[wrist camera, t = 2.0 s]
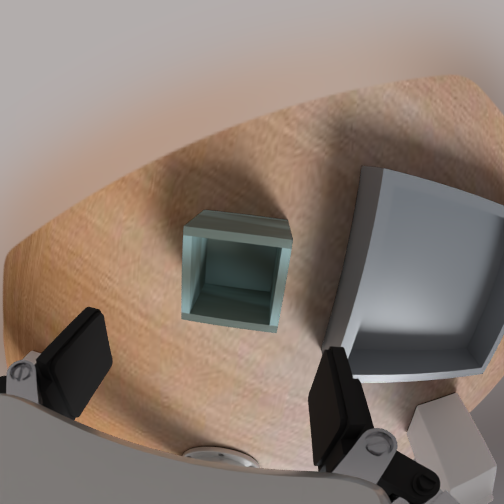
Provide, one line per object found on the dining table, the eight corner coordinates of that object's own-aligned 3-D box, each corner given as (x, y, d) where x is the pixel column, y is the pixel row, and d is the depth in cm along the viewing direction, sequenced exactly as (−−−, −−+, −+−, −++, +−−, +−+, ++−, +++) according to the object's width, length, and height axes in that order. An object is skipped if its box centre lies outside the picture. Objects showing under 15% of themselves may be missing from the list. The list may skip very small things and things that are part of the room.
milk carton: (416, 404, 30) (459, 514, 12) (456, 391, 29) (507, 487, 11) (405, 432, 32) (436, 531, 14) (443, 420, 32) (481, 509, 14)
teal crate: (275, 295, 26) (276, 332, 20) (199, 285, 26) (181, 319, 20) (287, 219, 24) (292, 239, 18) (204, 209, 24) (183, 226, 18)
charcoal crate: (464, 350, 27) (482, 373, 22) (321, 348, 28) (328, 382, 23) (512, 211, 21) (541, 221, 16) (361, 165, 22) (383, 168, 17)
